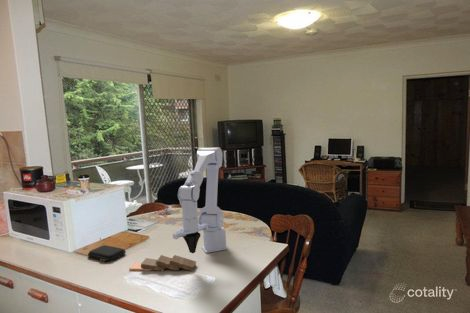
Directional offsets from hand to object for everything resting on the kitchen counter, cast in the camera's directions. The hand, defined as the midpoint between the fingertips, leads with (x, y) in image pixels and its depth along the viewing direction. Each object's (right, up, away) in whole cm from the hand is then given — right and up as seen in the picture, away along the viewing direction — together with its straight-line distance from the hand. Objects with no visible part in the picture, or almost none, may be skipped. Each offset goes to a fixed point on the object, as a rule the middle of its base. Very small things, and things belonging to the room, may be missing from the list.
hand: (192, 252), depth 123 cm
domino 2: (-5, -6, +1) cm, 8 cm away
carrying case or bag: (-39, -7, +17) cm, 43 cm away
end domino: (-15, -7, +3) cm, 17 cm away
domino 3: (+1, -6, +1) cm, 6 cm away
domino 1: (-10, -6, +2) cm, 12 cm away
